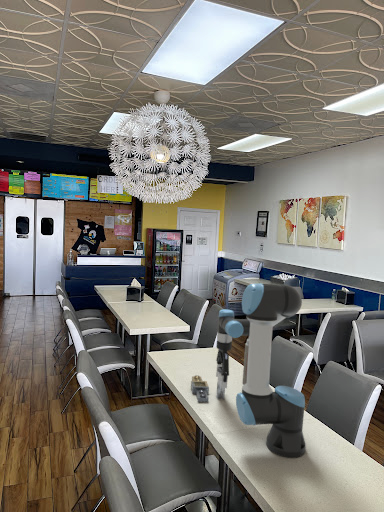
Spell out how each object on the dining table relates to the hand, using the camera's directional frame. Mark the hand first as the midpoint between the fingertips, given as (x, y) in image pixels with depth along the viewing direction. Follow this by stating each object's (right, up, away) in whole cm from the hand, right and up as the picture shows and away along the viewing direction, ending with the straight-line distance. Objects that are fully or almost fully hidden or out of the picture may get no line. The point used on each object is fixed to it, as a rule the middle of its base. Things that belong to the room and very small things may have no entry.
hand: (221, 382), depth 197 cm
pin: (0, -8, 0) cm, 8 cm away
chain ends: (-11, -7, +7) cm, 15 cm away
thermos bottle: (+17, -8, +21) cm, 28 cm away
